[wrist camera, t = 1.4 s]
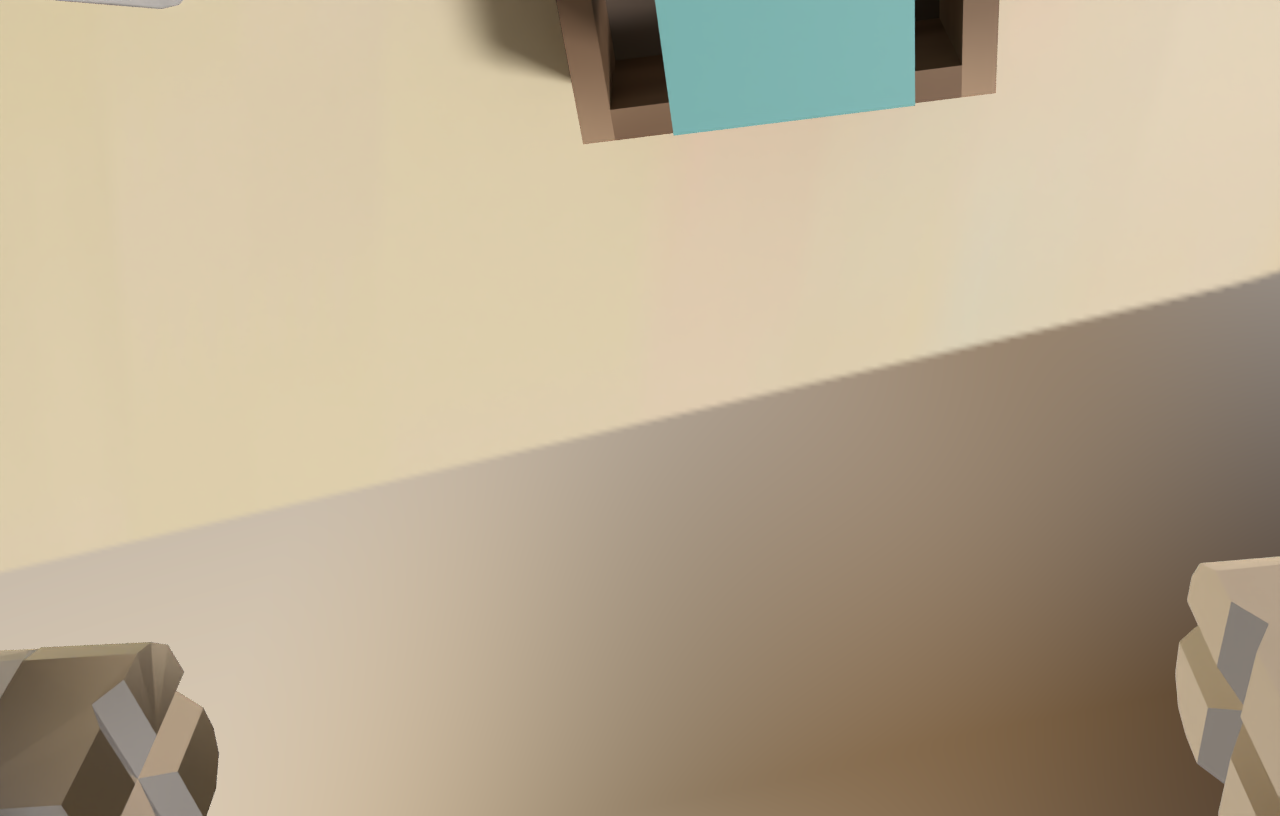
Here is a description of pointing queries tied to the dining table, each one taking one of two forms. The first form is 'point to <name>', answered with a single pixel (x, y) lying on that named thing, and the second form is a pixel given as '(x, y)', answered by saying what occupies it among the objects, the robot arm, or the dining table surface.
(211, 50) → the dining table surface
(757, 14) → the teal block
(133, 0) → the emergency button
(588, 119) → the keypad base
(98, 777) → the robot arm
